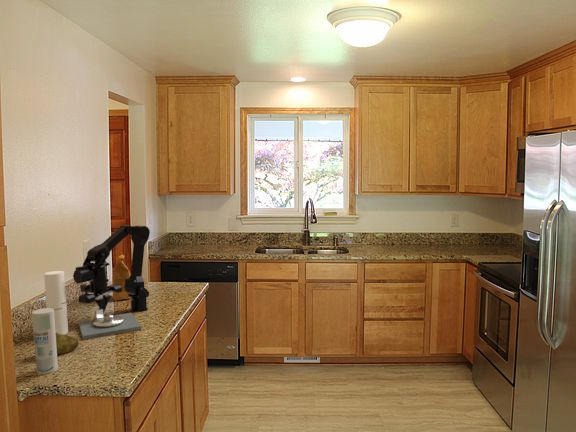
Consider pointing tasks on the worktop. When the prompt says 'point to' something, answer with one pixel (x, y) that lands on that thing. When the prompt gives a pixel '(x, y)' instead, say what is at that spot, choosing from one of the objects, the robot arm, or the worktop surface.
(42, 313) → the spray can
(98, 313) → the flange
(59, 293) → the cylindrical container
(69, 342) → the potato
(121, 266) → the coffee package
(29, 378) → the worktop surface
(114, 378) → the worktop surface
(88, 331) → the base board
